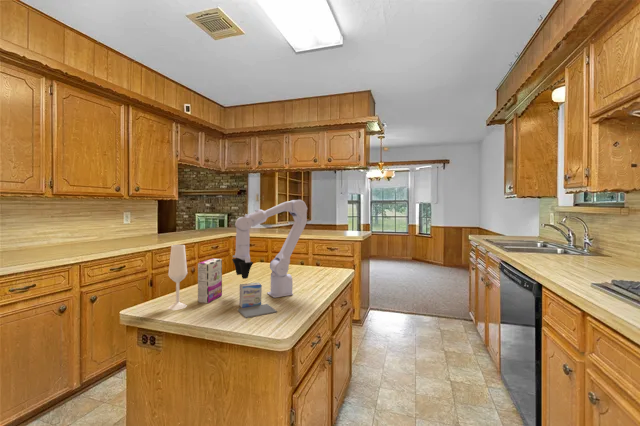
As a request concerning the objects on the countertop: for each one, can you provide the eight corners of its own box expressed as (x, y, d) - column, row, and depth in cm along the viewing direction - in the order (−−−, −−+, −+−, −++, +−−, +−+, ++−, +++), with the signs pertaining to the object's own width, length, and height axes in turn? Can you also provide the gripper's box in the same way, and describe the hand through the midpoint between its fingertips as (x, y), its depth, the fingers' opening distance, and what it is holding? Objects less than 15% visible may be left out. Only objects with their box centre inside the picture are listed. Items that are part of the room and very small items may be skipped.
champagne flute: (183, 303, 120) (183, 244, 120) (189, 307, 115) (190, 245, 115) (165, 306, 115) (166, 245, 115) (171, 311, 111) (171, 247, 110)
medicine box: (241, 308, 115) (242, 286, 115) (239, 305, 119) (239, 283, 119) (261, 306, 119) (261, 284, 118) (258, 302, 123) (258, 281, 122)
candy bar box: (212, 294, 132) (212, 258, 131) (222, 295, 131) (222, 258, 130) (196, 302, 121) (197, 262, 120) (207, 303, 120) (208, 263, 119)
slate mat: (267, 305, 120) (267, 303, 120) (276, 312, 112) (276, 311, 112) (237, 310, 113) (237, 308, 113) (245, 318, 105) (245, 316, 105)
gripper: (228, 243, 131) (227, 273, 131) (238, 247, 119) (238, 281, 119) (244, 242, 135) (243, 272, 135) (255, 246, 123) (254, 279, 123)
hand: (242, 276), depth 127 cm, fingers open, 7 cm apart
